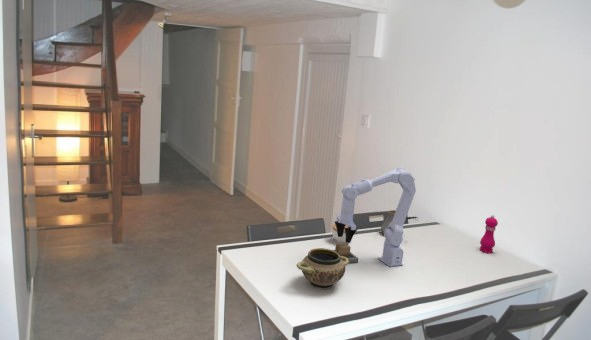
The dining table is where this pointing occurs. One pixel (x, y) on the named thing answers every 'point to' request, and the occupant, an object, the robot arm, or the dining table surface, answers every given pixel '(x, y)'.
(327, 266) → the ceramic bowl
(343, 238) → the lidded jar
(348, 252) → the walnut block
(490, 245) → the pepper mill
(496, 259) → the dining table surface
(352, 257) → the tray
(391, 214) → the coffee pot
